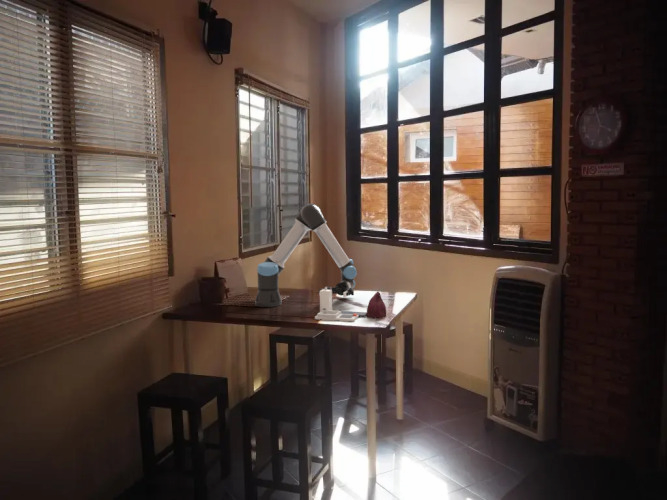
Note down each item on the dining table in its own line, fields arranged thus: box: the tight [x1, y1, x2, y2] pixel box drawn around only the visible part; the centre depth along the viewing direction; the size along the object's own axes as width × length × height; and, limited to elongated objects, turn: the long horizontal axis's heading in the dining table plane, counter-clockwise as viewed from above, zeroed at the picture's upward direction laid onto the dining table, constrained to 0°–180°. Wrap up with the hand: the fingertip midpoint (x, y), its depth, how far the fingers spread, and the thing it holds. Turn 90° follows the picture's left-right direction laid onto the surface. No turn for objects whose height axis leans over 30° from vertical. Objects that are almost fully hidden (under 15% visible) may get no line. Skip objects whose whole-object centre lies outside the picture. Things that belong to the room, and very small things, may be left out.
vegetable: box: [366, 291, 387, 319], centre depth 259 cm, size 10×10×15 cm
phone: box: [340, 310, 367, 318], centre depth 263 cm, size 7×14×1 cm, turn 73°
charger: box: [319, 286, 333, 312], centre depth 268 cm, size 5×5×14 cm
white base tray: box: [314, 309, 360, 322], centre depth 256 cm, size 20×10×3 cm, turn 73°
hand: (331, 294), depth 277 cm, fingers open, 13 cm apart
